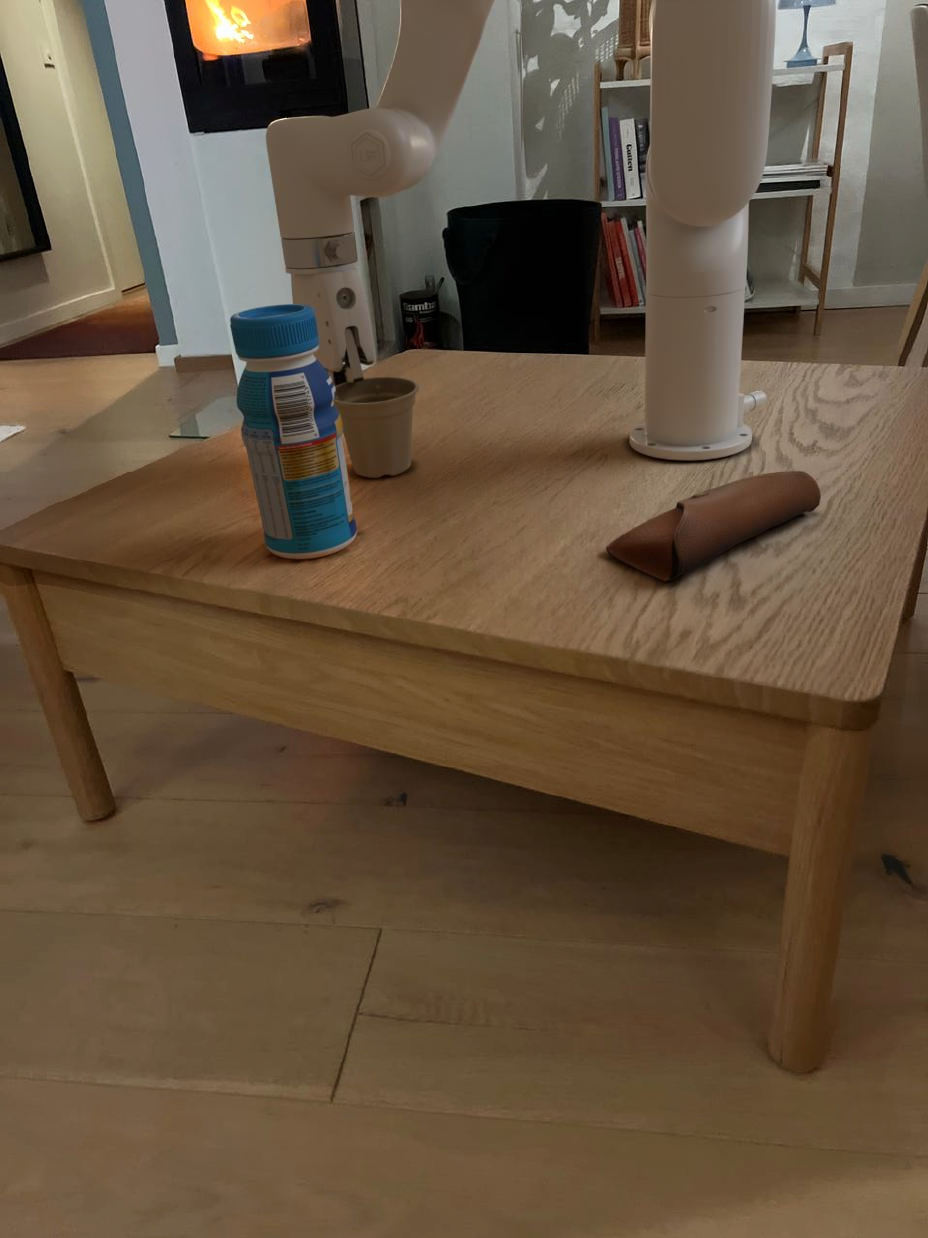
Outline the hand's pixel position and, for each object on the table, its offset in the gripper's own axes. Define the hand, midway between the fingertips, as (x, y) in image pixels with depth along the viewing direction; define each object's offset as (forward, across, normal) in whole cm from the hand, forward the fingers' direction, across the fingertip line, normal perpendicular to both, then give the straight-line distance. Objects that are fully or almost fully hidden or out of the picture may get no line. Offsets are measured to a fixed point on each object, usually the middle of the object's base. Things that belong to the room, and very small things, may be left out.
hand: (343, 428), depth 101 cm
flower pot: (+3, -8, 0) cm, 8 cm away
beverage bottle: (+3, -21, +14) cm, 25 cm away
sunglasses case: (+3, -44, -12) cm, 46 cm away
